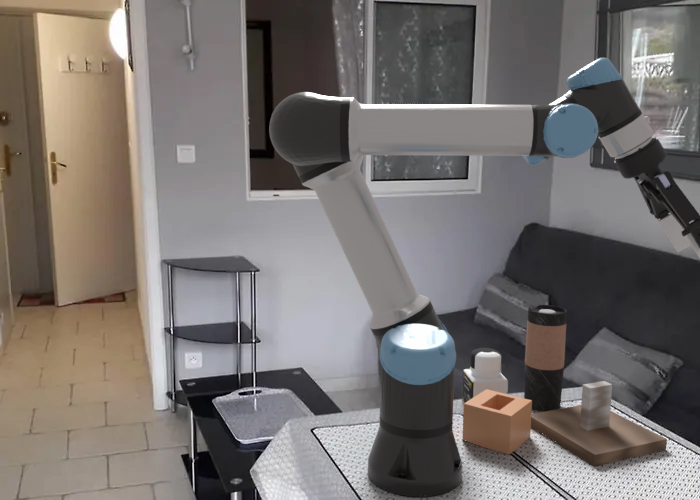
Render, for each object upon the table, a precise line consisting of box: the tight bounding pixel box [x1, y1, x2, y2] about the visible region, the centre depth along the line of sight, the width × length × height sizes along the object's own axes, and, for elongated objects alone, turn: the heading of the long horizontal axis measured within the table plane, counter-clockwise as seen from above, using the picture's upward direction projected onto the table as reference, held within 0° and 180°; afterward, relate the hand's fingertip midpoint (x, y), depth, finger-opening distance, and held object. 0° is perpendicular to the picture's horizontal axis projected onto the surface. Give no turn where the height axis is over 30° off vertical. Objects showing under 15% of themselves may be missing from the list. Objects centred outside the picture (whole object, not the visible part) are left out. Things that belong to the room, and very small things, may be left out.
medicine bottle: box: [461, 347, 509, 404], centre depth 140 cm, size 7×7×12 cm
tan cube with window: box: [461, 389, 533, 455], centre depth 126 cm, size 9×9×7 cm
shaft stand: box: [531, 380, 668, 467], centre depth 127 cm, size 16×18×10 cm
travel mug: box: [523, 304, 568, 412], centre depth 141 cm, size 8×8×20 cm
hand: (698, 255), depth 117 cm, fingers open, 13 cm apart
